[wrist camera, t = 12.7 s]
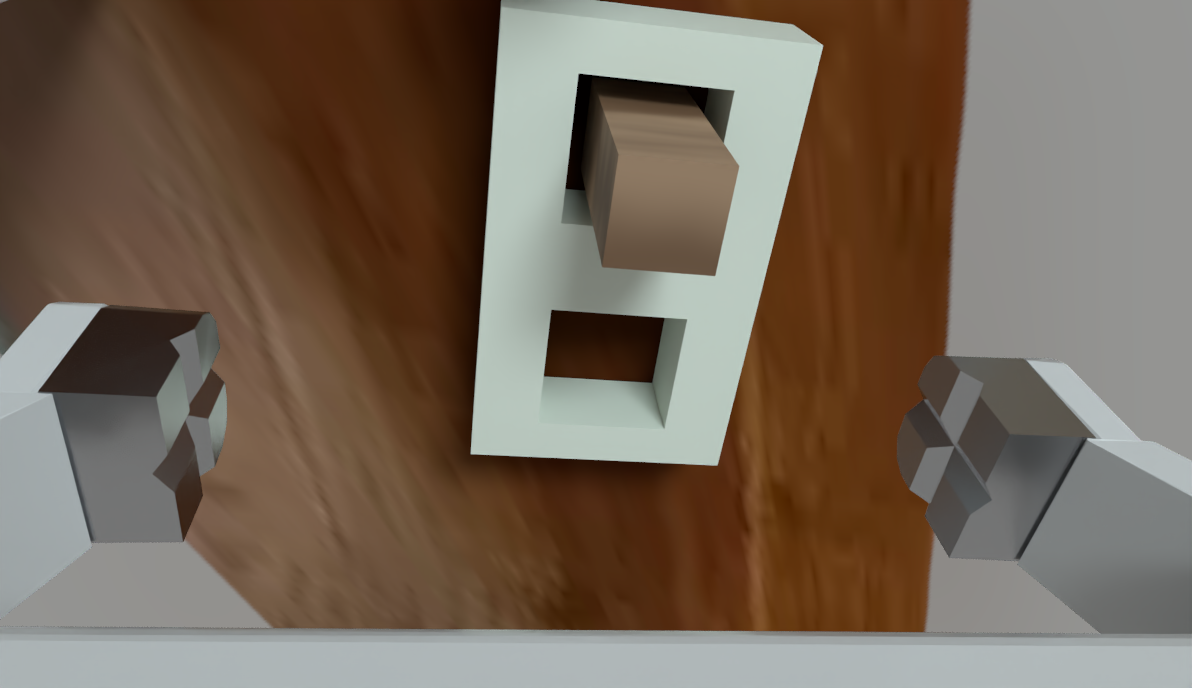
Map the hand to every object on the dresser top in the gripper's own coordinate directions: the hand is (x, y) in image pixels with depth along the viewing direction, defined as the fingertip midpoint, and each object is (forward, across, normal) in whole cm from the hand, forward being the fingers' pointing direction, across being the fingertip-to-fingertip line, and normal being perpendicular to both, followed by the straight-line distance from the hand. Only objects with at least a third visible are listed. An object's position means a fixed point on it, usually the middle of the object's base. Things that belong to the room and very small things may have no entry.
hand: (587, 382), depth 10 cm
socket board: (+28, -5, +11) cm, 30 cm away
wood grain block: (+28, -5, +6) cm, 29 cm away
